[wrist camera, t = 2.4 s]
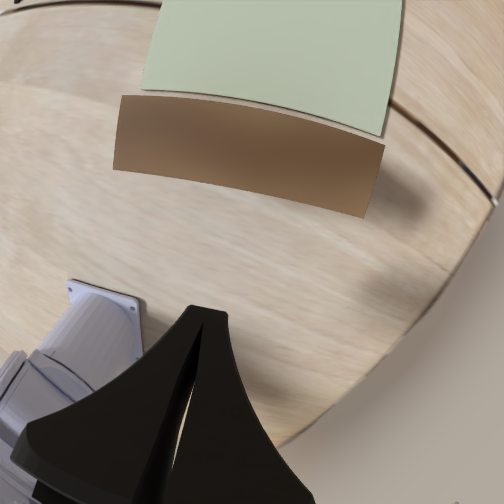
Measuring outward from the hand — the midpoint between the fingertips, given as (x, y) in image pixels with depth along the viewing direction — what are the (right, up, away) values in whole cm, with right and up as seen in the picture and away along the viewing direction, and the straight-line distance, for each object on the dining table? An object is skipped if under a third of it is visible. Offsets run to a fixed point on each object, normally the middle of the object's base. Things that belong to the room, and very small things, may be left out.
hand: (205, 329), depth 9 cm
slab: (+2, +10, +7) cm, 12 cm away
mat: (+4, +19, +2) cm, 20 cm away
